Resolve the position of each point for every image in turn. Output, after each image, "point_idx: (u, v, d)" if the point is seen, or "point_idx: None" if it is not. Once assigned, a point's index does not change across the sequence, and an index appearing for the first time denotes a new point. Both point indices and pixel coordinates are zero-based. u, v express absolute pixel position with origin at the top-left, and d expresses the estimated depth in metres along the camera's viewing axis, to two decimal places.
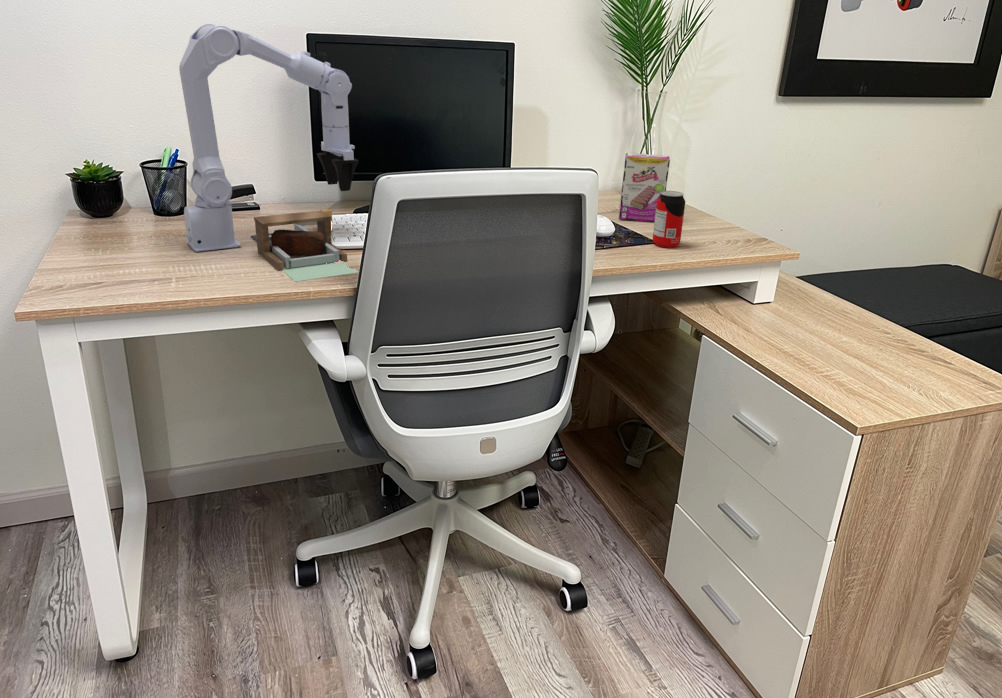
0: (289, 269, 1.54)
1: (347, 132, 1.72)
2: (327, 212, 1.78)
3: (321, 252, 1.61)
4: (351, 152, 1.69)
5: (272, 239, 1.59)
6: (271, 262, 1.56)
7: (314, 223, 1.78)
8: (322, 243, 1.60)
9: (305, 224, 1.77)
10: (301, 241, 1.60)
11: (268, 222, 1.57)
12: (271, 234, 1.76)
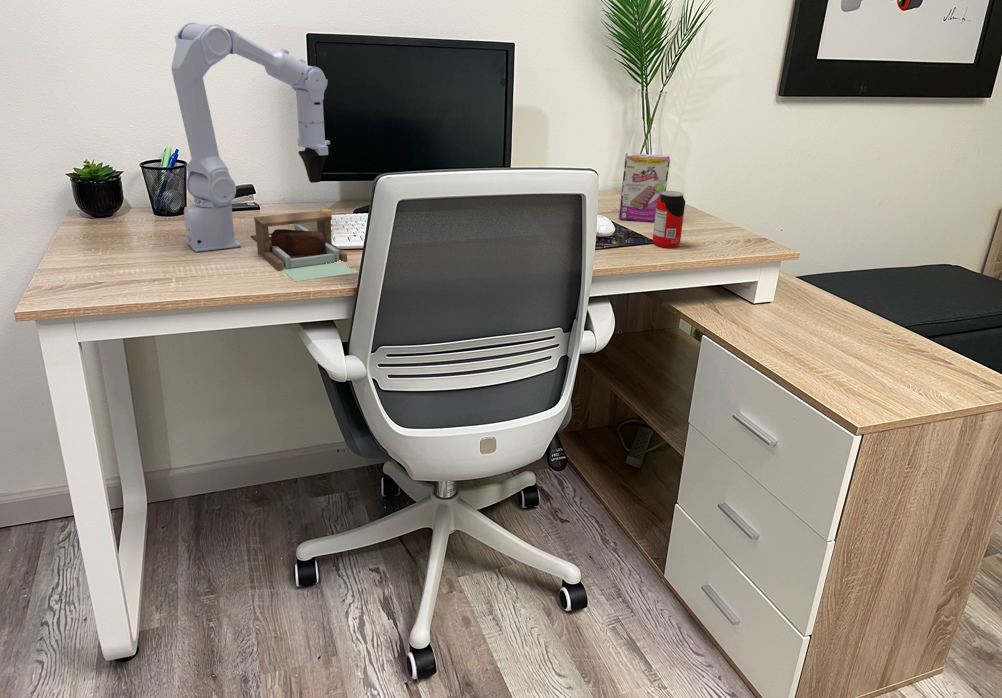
0: (289, 269, 1.54)
1: (322, 128, 1.76)
2: (327, 212, 1.78)
3: (321, 252, 1.61)
4: (325, 147, 1.73)
5: (272, 238, 1.59)
6: (271, 262, 1.56)
7: (314, 223, 1.78)
8: (322, 243, 1.60)
9: (305, 224, 1.77)
10: (301, 241, 1.60)
11: (268, 222, 1.57)
12: None
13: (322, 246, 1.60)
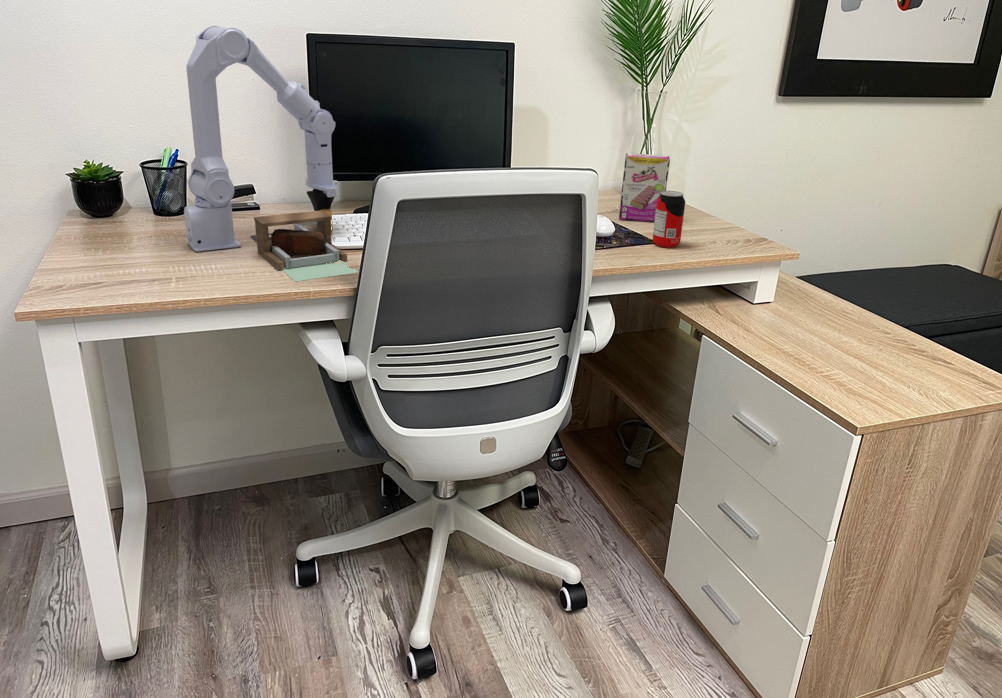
0: (289, 269, 1.54)
1: (330, 169, 1.77)
2: (327, 212, 1.78)
3: (321, 252, 1.61)
4: (334, 189, 1.74)
5: (272, 238, 1.59)
6: (271, 262, 1.56)
7: (314, 223, 1.78)
8: (322, 243, 1.60)
9: (305, 224, 1.77)
10: (301, 241, 1.60)
11: (268, 222, 1.57)
12: None
13: (322, 246, 1.60)
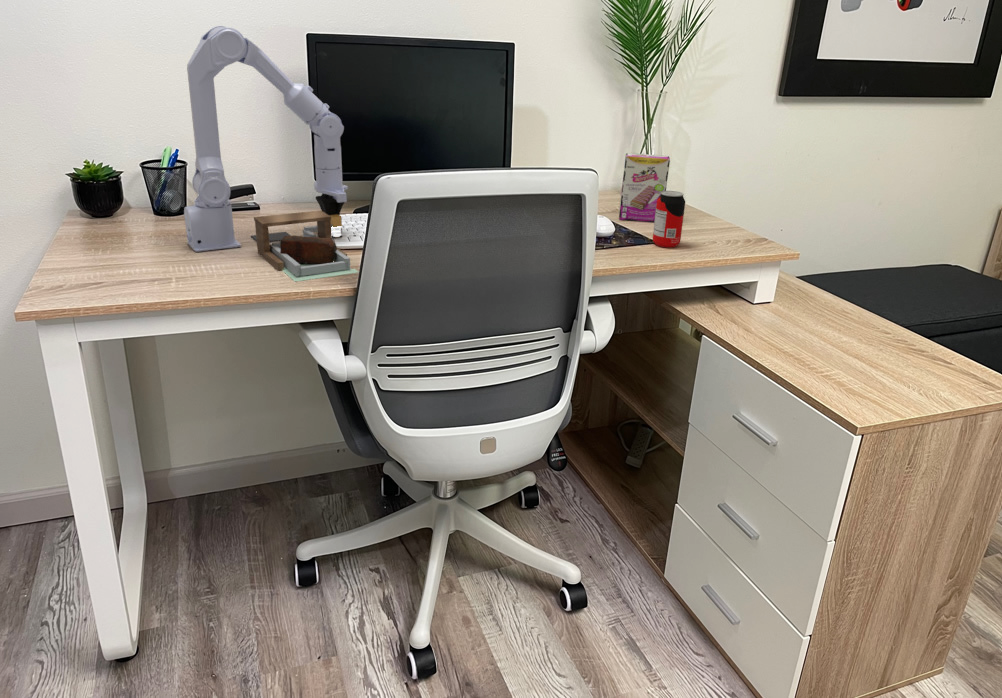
0: None
1: (340, 174, 1.72)
2: (336, 218, 1.74)
3: (332, 259, 1.56)
4: (344, 194, 1.69)
5: (281, 245, 1.55)
6: (271, 262, 1.56)
7: None
8: (332, 250, 1.55)
9: (314, 230, 1.72)
10: (311, 248, 1.55)
11: (268, 222, 1.57)
12: (271, 234, 1.76)
13: (333, 253, 1.56)
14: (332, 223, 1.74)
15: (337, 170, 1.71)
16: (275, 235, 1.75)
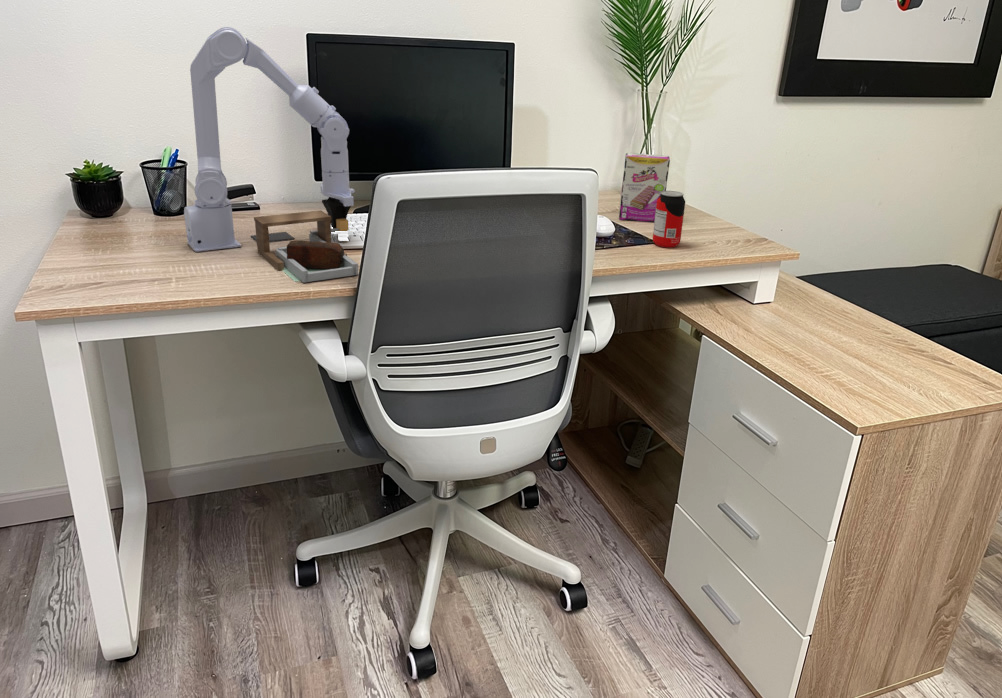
0: None
1: (347, 177, 1.69)
2: (343, 222, 1.71)
3: (339, 265, 1.53)
4: (351, 198, 1.66)
5: (288, 250, 1.52)
6: (271, 262, 1.56)
7: None
8: (340, 255, 1.52)
9: None
10: (318, 253, 1.52)
11: (268, 222, 1.57)
12: (271, 234, 1.76)
13: (340, 258, 1.53)
14: (339, 227, 1.71)
15: (344, 173, 1.68)
16: (275, 235, 1.75)
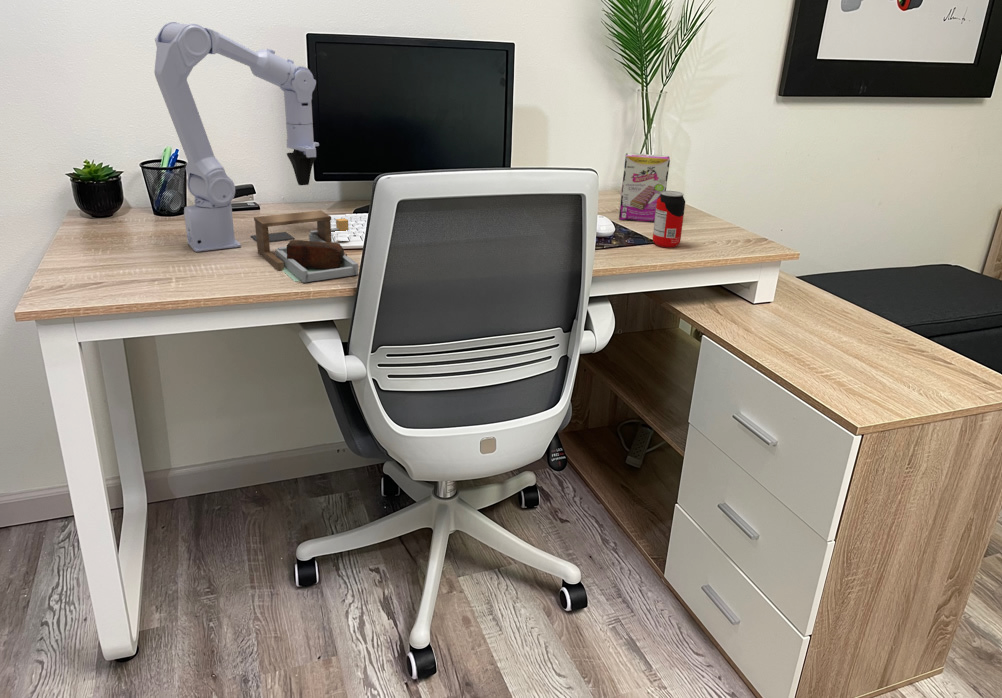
0: None
1: (310, 129, 1.72)
2: (343, 222, 1.71)
3: (339, 265, 1.53)
4: (313, 149, 1.69)
5: (288, 250, 1.52)
6: (271, 262, 1.56)
7: None
8: (340, 255, 1.52)
9: None
10: (318, 253, 1.52)
11: (268, 222, 1.57)
12: (271, 234, 1.76)
13: (340, 258, 1.53)
14: (339, 227, 1.71)
15: (307, 125, 1.71)
16: (275, 235, 1.75)
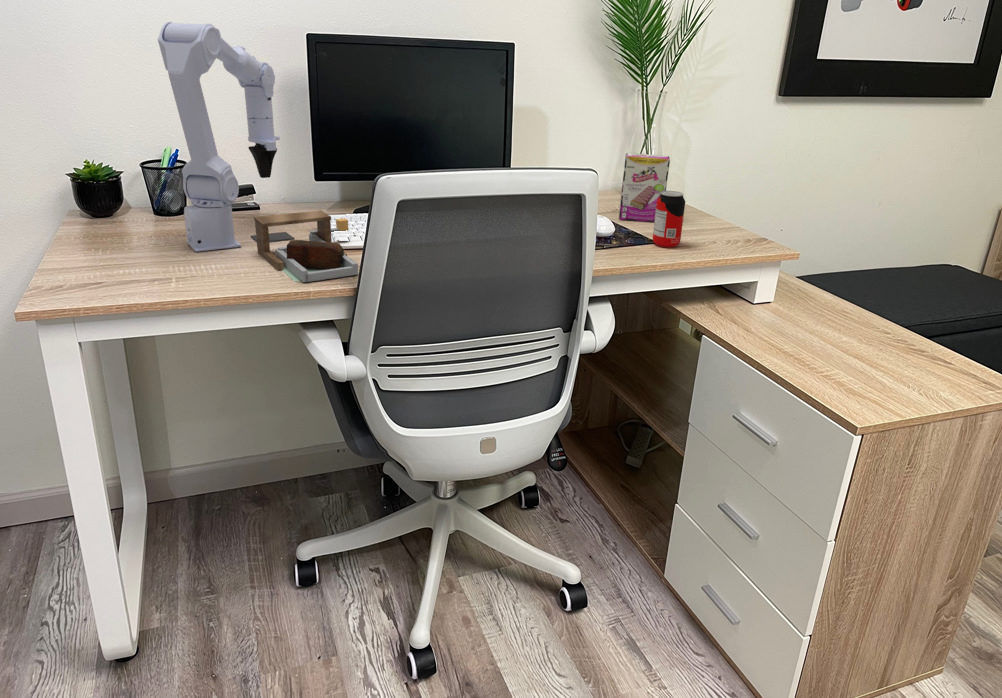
0: None
1: (271, 123, 1.78)
2: (343, 222, 1.71)
3: (339, 264, 1.53)
4: (273, 143, 1.75)
5: (287, 250, 1.52)
6: (271, 262, 1.56)
7: None
8: (340, 255, 1.52)
9: None
10: (318, 253, 1.52)
11: (268, 222, 1.57)
12: (271, 234, 1.76)
13: (340, 258, 1.53)
14: (338, 227, 1.71)
15: (267, 120, 1.77)
16: (275, 235, 1.75)
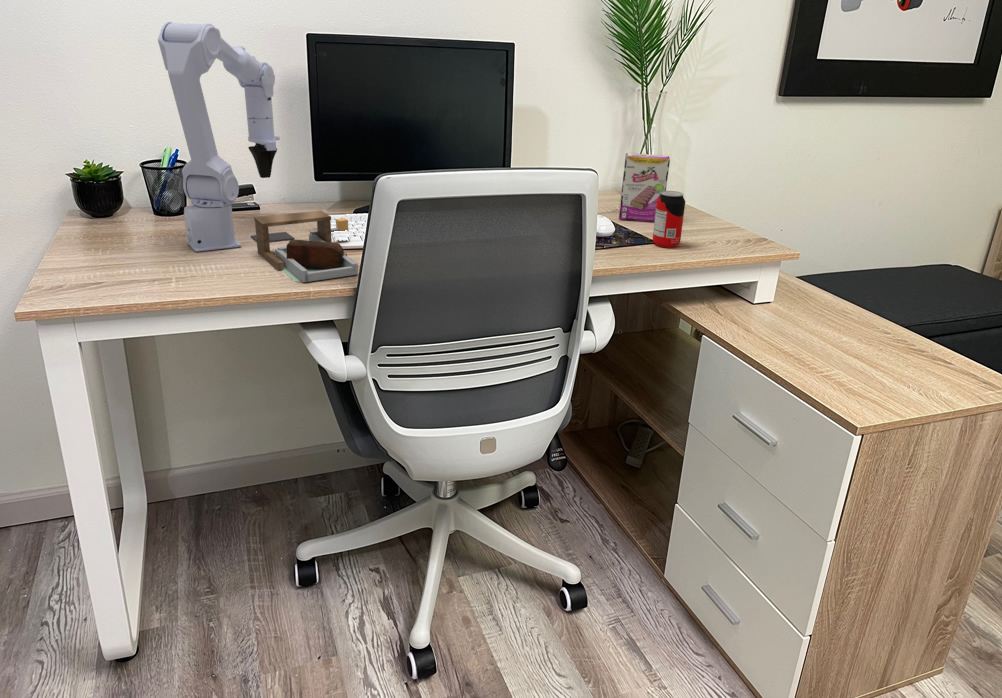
0: None
1: (271, 123, 1.78)
2: (343, 221, 1.71)
3: (339, 264, 1.53)
4: (273, 143, 1.75)
5: (287, 250, 1.52)
6: (271, 262, 1.56)
7: None
8: (340, 255, 1.52)
9: None
10: (318, 253, 1.52)
11: (268, 222, 1.57)
12: (271, 234, 1.76)
13: (340, 258, 1.53)
14: (338, 227, 1.71)
15: (267, 120, 1.77)
16: (275, 235, 1.75)
